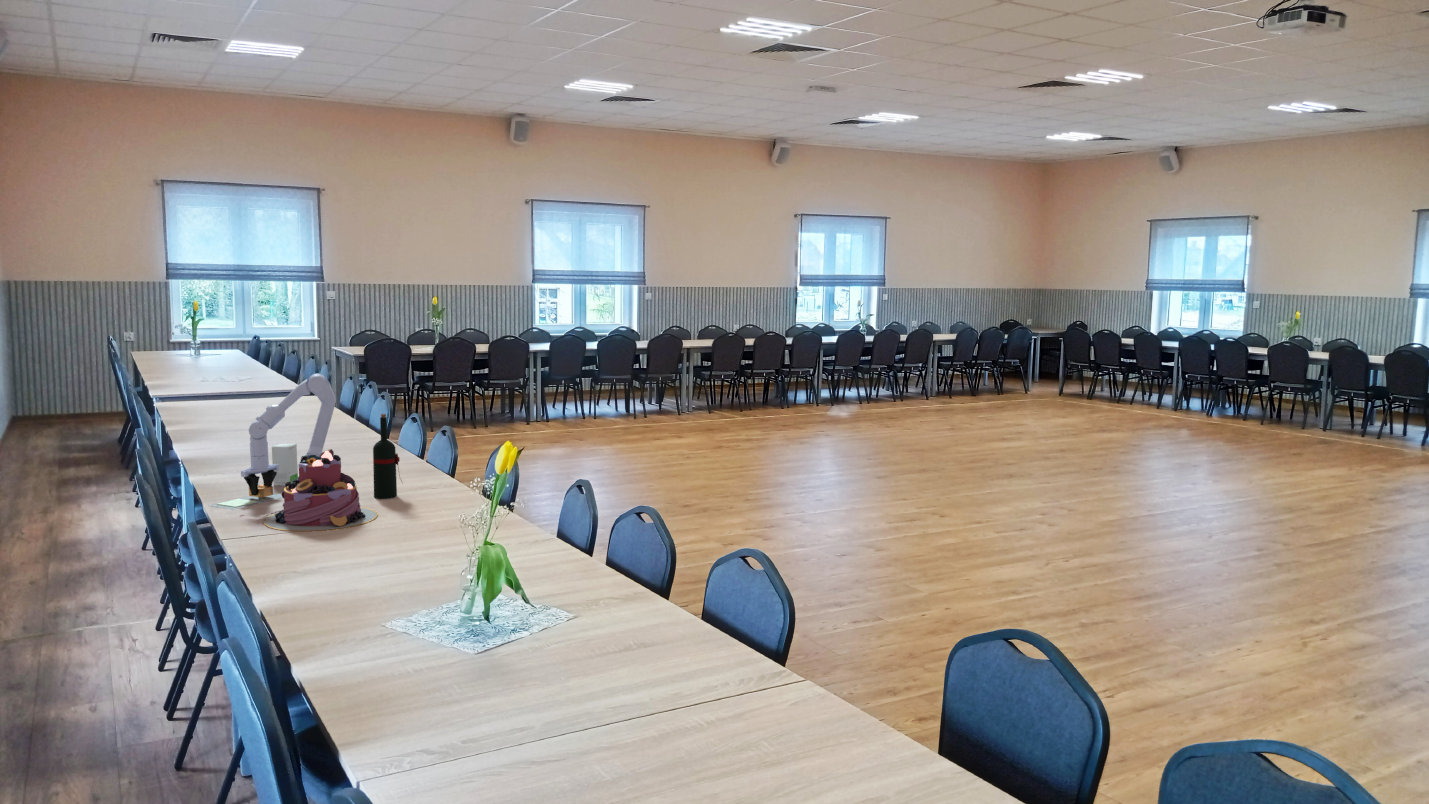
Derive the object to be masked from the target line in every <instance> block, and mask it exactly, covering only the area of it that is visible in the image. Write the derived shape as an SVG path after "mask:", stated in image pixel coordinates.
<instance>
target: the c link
mask: <svg viewBox="0 0 1429 804" xmlns="http://www.w3.org/2000/svg"><path fill="white" fill-rule="evenodd" d="M273 494H274V485H272V486H266V485H264V484H258V495H256V496H255V495H252V494H251V491H250V488H249V487H248V496H254V497H261V498H262V497H266V496H270V495H273Z"/></svg>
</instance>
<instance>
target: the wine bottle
mask: <svg viewBox="0 0 1429 804" xmlns="http://www.w3.org/2000/svg"><path fill="white" fill-rule="evenodd" d="M386 415H387V414H386V413H380V418H379V421H380V423H379V424H380V425H379V426H380V440H378V441H377V442H376V443H375V444H374V445H373V448H372V452H373V453H372V457H373V458H372V462H373V466H372V467H373V469H372V470H373V497H374V499H377V500H378V499H379V500H387V499H395V498H397V496H398V489H397V488H398V487H397V484H398V483H397V482H398V481H397V469H398V471H400V470H399V469H400V468H399V463H400V456H399V453H398V452H397V453H396V446H395V444H394V443H393V442H392V441H391V440H388V419H387V418H388V417H387V416H386ZM398 475H399V478H401V476H400V475H401V474H400V473H398ZM400 482H401V483H402V484H404V482H403V481H402V479H400Z"/></svg>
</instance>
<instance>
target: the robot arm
mask: <svg viewBox="0 0 1429 804" xmlns="http://www.w3.org/2000/svg"><path fill="white" fill-rule="evenodd" d="M311 393H312V394H313V395H315V397H317V399H318V400H319V401H320V403H321V405H320V408H319V412H318V414H317V419H316V422H315V426H314V430H313V433H312V437H311V441H310V444H309V447H308V449H307V452H306V454H305V455H304V456H306V455H309V456H310V455H311V454H315V455H316V456H320V455H321V453H322V452H323V450H324V446H325V442H326V438H327V435H328V432H329V428H330V424H331V421H332V418H333V417H332V416H333V414H334V410H335V406H336V403H337V398H336V396H335V393H334V390H333V388H332V386H331V383H330V381H329V380H328V378H327V377H326V376H325V375H323V374H322V373H318V372H317V373H313V374H311V375H310V376H309V377H308V378H306V379H305V380H303V381H302V382H300V383H299V384H298V385H297V386H296V387H295V388H293V389H292V391H291V392H290V393H289V394H287V396H285V397H284V398H283V399H282V400H281V401H280V402H279V403H278V404H272V405H270V406H267V407H265V411H264V412H263V413H262V414H260V416H257V417H255V421H253V422H251V424H250V425H249V428H248V433H249V435H250V437H249V441H250V442H249V450H250V451H249V453H250V467H249V468H246V469H243V470H241V471H240V477H241V478H242V477H243V479H244V480H245V482H246V484H247V485H248V489H249V488H250V491H251V494H252V495H255V496H256V495H258V485H259V481H260V475H259V476H258V474H261V478H262V481H263V485H266V486H273V480H274V478H275V476H276V475H277V472H275V471H274V470H279V465H278V464H273V463H272V464H270V463H269V462H270V461H269V445H268V444H269V442H268V437H267V436H268V435H267V434H268V431H269V430H272V429H273V428H274V427H275V426H276V425H278V424H279V422H280V421H282V420H283V419H284V418H285V416H286V411H287V410H288V409H289V408H290V407H291V406H293V405H294V404H295V403H296V402H297V401H298V400H299V399H301V397H303V396H309V395H311Z"/></svg>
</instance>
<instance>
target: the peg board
mask: <svg viewBox="0 0 1429 804" xmlns="http://www.w3.org/2000/svg"><path fill="white" fill-rule="evenodd" d="M278 499H283V498H282V494H281V493H273V495H270V496H266V497H262V498H261V497H254V496H249V495H247V496H242V497H239V498H233V499H230V500H226V501H221V502H217V503H213V504H207V507H212V508H213V507H214V508H219V509H220V508H221V509H226V510H237V509H241V508H246V507H250V506H254V505H259V504H261V503H266V502H271V501H275V500H278Z"/></svg>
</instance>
